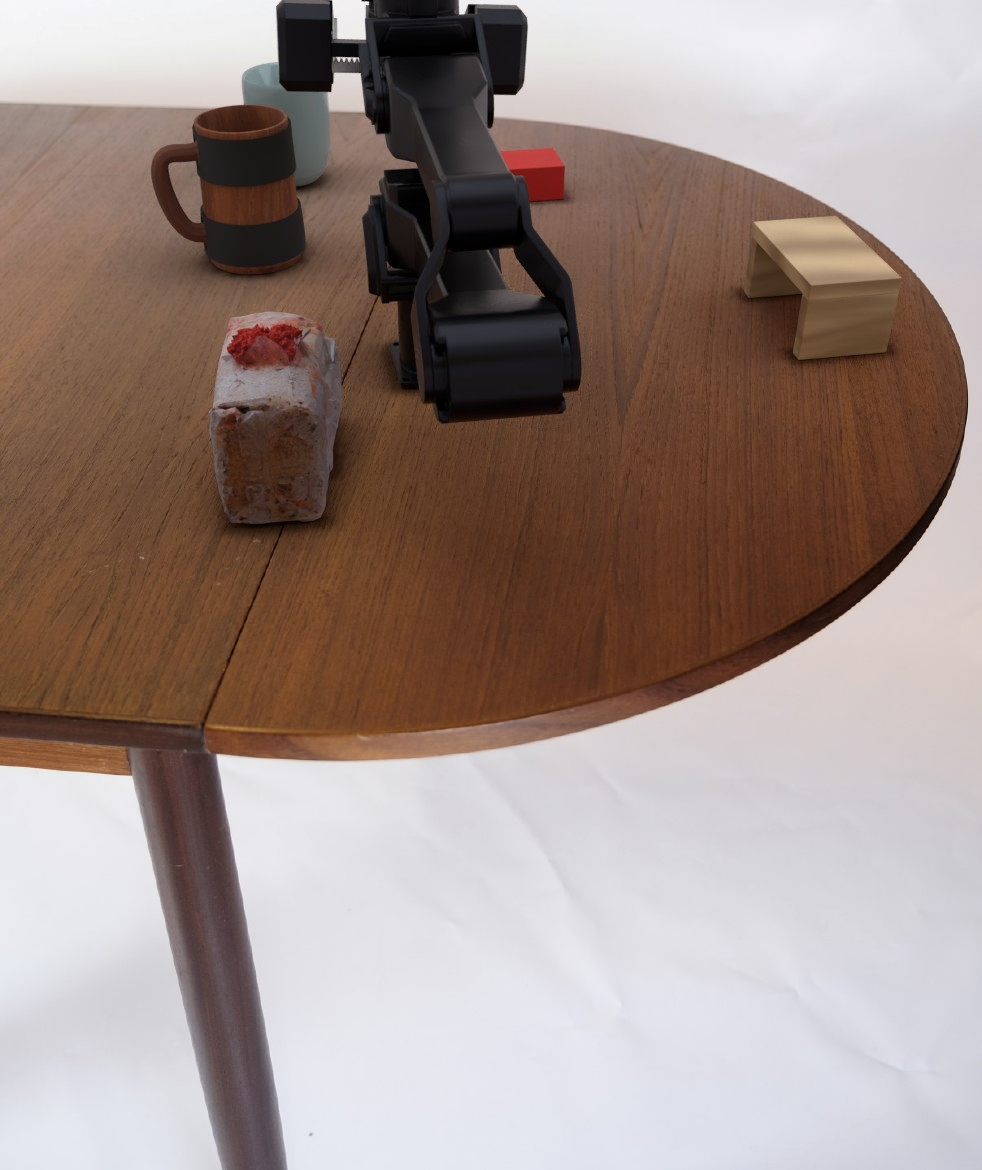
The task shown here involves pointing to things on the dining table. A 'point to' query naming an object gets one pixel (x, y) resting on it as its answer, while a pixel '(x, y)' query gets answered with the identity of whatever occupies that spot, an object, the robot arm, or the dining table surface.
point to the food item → (275, 418)
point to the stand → (825, 284)
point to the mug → (239, 189)
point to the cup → (294, 118)
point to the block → (538, 172)
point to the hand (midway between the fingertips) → (390, 26)
